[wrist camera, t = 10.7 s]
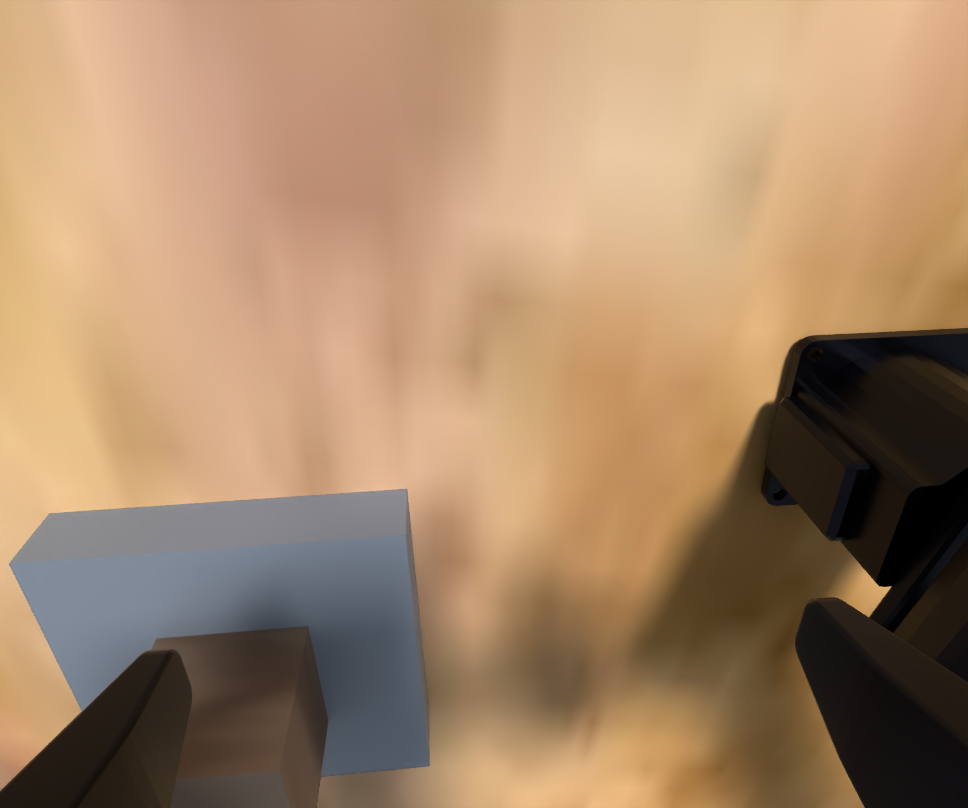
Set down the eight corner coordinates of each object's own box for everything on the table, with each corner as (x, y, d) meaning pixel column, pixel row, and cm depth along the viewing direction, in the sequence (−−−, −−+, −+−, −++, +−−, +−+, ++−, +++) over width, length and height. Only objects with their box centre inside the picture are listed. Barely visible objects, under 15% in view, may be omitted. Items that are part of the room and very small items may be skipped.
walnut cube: (308, 626, 22) (279, 770, 18) (328, 720, 24) (308, 867, 20) (156, 638, 22) (89, 788, 17) (192, 732, 24) (141, 884, 20)
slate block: (407, 479, 23) (405, 534, 20) (428, 700, 29) (429, 766, 26) (57, 503, 22) (8, 563, 20) (151, 725, 28) (123, 795, 25)
